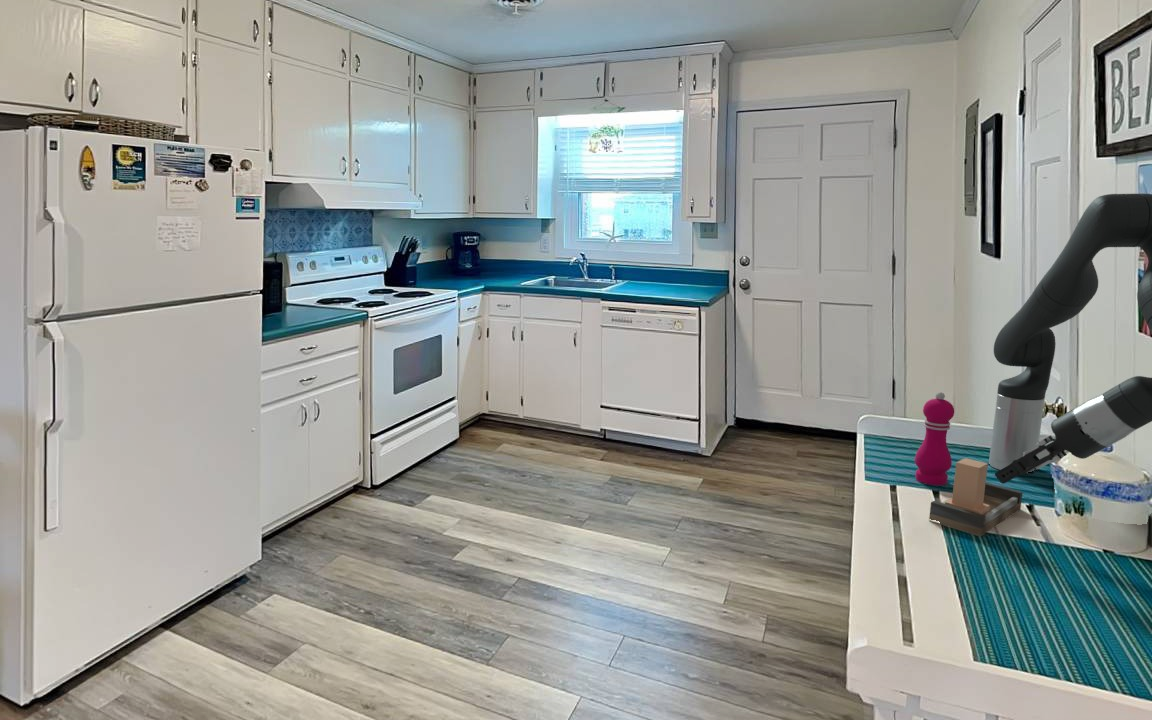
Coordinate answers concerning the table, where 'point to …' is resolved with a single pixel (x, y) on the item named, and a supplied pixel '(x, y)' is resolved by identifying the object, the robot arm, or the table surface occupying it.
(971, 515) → the track
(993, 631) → the table surface
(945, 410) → the pepper mill
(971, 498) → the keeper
